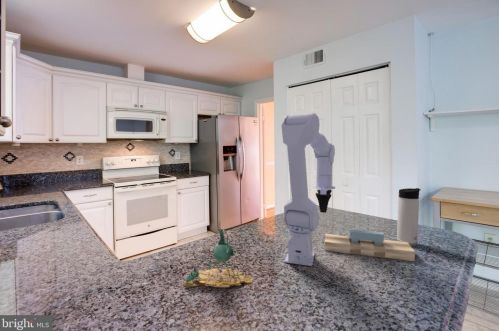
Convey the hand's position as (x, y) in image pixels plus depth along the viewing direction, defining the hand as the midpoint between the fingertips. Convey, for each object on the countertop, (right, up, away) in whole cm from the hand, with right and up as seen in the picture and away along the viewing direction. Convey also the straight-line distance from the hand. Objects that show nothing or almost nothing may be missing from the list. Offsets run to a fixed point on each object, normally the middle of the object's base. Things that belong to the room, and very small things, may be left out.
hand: (323, 209), depth 97 cm
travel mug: (+28, -11, -7) cm, 31 cm away
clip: (+10, -11, -13) cm, 20 cm away
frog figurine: (-37, -13, -32) cm, 50 cm away
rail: (+10, -11, -13) cm, 20 cm away
